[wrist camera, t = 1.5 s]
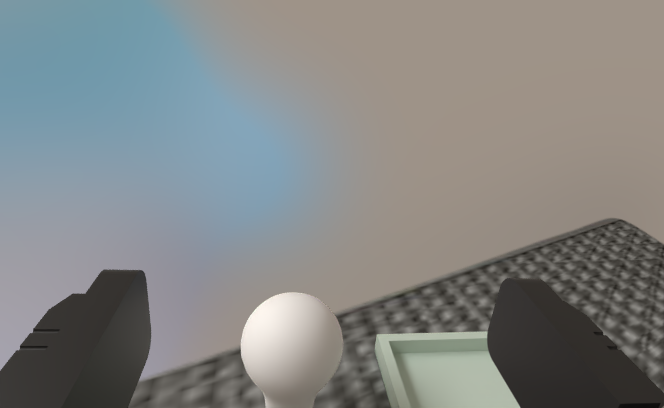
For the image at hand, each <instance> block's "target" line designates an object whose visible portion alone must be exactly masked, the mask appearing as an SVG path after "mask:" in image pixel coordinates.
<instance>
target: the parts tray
mask: <svg viewBox="0 0 664 408" xmlns="http://www.w3.org/2000/svg"><path fill="white" fill-rule="evenodd" d="M487 333H488V332H453V333H415V334H377V338H376V345H375V354H376V358H377V361H378V365H379V368H380V372H381V375H382V379H383V382H384V386H385V389H386V393H387V396H388V400H389V403H390V407H391V408H520V406H519V404H518V403H517V401H516V399H515V398H514V396H513V394H512V393H511V391H510V389H509V388H508V386H507V384H506V382H505V381H504V379H503V377H502V376H501V374H500V372H499V371H498V369H497V367H496V366H495V364H494V362H493V361H492V359H491V357H490V354H489V351H488V345H487Z"/></svg>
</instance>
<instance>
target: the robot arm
mask: <svg viewBox="0 0 664 408" xmlns="http://www.w3.org/2000/svg"><path fill="white" fill-rule="evenodd" d="M150 342H151V324H150V314H149V303H148V293H147V283H146V277H145V273H144V272H143V271H142V270H103V271H102V272H101V273H100V274H99V275H98V277H97V278H96V280H95V281H94V282H93V284H92V285H91V287H90V288H89V289H88V291H87V292H86V294H72V295H70V296H69V297H67V298H66V299H64V300H63V301H61V302H60V303H58V304H57V305H55V306H54V307H52V308H51V309H49V310H48V311H47V313H46V314H45V315H44V317H43V318H42V319H41V320H40V322H39V323H38V324H37V325H36V327H35V328H34V329H33V333H30V334H29V335H28V337H27V338H26V339H25V341H24V342H23V343H22V344H21V345H20V350H19V351H18V350H17V351H16V352H15V353H14V354H13V356H12V357H11V358H10V359H9V361H8V362H7V363H6V364H5V366H4V367H3V368H2V369H1V371H0V408H128V406H129V403H130V401H131V398H132V396H133V393H134V391H135V388H136V386H137V383H138V381H139V378H140V376H141V373H142V371H143V368H144V366H145V363H146V360H147V357H148V353H149V349H150ZM487 345H488V351H489V354H490V357H491V359H492V361H493V362H494V364H495V366H496V367H497V369H498V371H499V372H500V374H501V376H502V377H503V379H504V381H505V382H506V384H507V386H508V388H509V389H510V391H511V393H512V394H513V396H514V398H515V399H516V401H517V403H518V404H519V406H520V408H664V393H663V392H662V391H661V390H660V389H659V388H658V387H657V386H656V385H655V384H654V383H653V382H652V381H651V380H650V379H649V378H648V377H647V376H646V375H645V374H644V373H643V372H642V371H641V370H640V369H639V368H638V367H637V366H636V365H635V364H634V363H633V362H632V361H631V360H630V359H629V358H628V357H627V356H626V355H625V354H624V353H623V352H622V351H621V350H618V349H617V346H616V345H615V344H614V343H613V342H612V341H611V340H610V339H609V338H608V337H607V336H606V335H603V332H602V331H601V330H600V329H599V328H598V327H597V326H596V325H595V324H594V323H593V322H592V321H591V320H590V318H589V317H588V316H587V315H585V314H584V313H582V312H580V311H579V310H577V309H576V308H574V307H573V306H571V305H569V304H568V303H566V302H565V301H562V299H561V298H560V297H559V296H558V295H557V294H556V293H555V292H554V291H553V290H552V289H551V288H550V287H549V286H548V285H547V284H546V283H545V282H544V281H543V280H541V279H523V278H507V279H505V280H504V281H503V282H502V284H501V287H500V290H499V293H498V297H497V300H496V304H495V307H494V311H493V314H492V318H491V321H490V325H489V328H488V333H487Z"/></svg>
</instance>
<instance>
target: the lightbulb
mask: <svg viewBox="0 0 664 408" xmlns="http://www.w3.org/2000/svg"><path fill="white" fill-rule="evenodd" d="M342 351H343V338H342V331H341V328H340V325H339V323H338V320H337V318H336V317H335V315H334V314H333V312H331V310H330V308H328V306H326V305H325V304H324V303H323V302H322V301H320V300H319V299H317V298H316V297H313V296H311V295H308V294H304V293H295V292H290V293H282V294H278V295H275V296H273V297H271V298H269V299H268V300H266V301H265V302H263V303H262V304H261V305H259V306H258V308H256V310H255V311H254V312H253V313H252V314H251V316H250V317H249V319H248V321H247V323H246V325H245V327H244V330H243V335H242V339H241V357H242V360H243V363H244V366H245V369H246V372H247V373H248V375H249V376H250V378H251V379H252V380H253V382H254V383H255V384H256V386H257V387H258V388H259V389H260V390H261V391H262V392H263V394H264V397H265V405H266V408H313V405H314V400H315V397H316V394H317V393H318V392H319V391H320V390H321V389H322V388H323V387H324V386H325V385H326V384H327V382H328V381H329V380H330V379H331V378H332V376H333V375H334V374H335V372H336V370H337V368H338V365H339V363H340V361H341V357H342Z"/></svg>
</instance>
